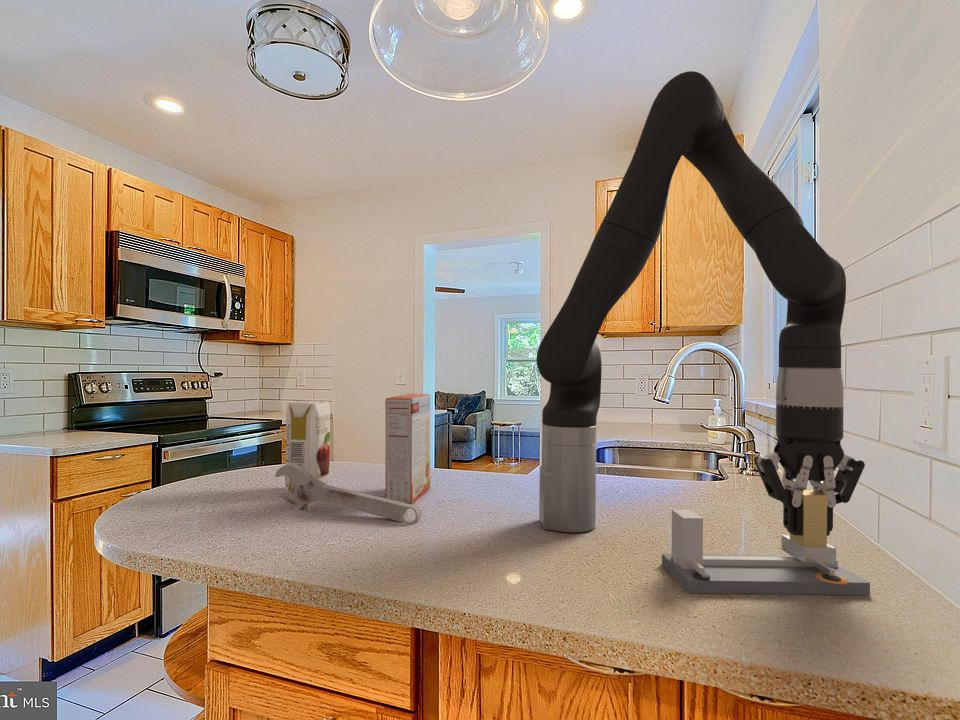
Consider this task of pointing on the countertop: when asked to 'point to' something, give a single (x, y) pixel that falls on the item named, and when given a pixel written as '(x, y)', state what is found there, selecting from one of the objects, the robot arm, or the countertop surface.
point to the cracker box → (407, 447)
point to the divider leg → (812, 534)
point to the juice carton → (308, 438)
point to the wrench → (340, 496)
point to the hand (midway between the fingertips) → (808, 533)
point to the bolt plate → (747, 568)
